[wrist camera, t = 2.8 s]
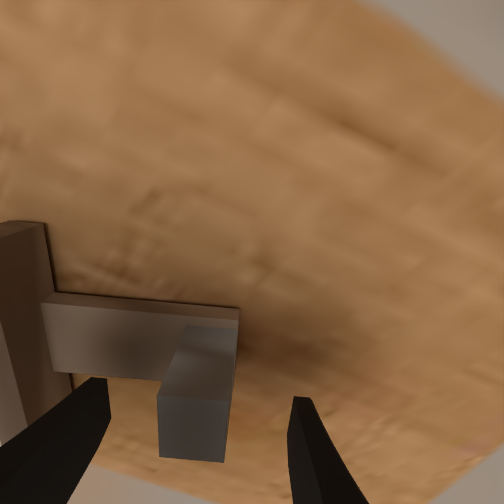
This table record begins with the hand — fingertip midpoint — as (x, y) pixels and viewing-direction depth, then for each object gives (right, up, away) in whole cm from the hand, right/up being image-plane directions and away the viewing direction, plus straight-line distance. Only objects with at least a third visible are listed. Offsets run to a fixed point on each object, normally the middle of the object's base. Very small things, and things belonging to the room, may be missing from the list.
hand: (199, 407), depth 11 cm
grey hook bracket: (-4, +2, +4) cm, 6 cm away
